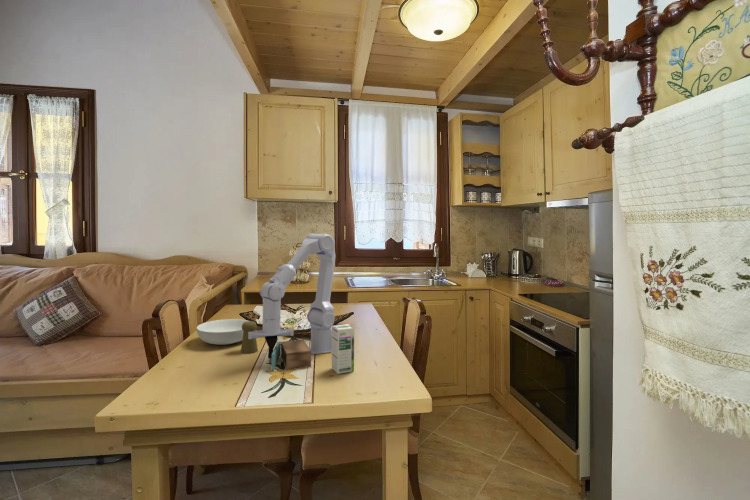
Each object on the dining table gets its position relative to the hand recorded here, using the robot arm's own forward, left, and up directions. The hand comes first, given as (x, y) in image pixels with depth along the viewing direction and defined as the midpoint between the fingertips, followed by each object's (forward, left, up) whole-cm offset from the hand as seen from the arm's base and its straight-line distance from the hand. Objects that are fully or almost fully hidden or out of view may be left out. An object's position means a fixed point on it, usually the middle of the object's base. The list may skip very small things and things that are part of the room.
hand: (270, 358), depth 121 cm
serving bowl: (+14, -31, -3) cm, 34 cm away
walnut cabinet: (-8, 0, -2) cm, 8 cm away
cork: (+6, -16, -2) cm, 17 cm away
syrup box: (-21, +13, -2) cm, 25 cm away
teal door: (-1, 0, -2) cm, 2 cm away
